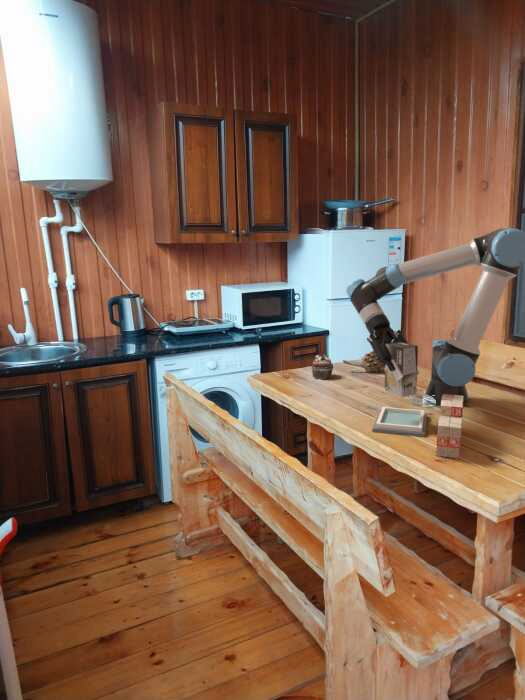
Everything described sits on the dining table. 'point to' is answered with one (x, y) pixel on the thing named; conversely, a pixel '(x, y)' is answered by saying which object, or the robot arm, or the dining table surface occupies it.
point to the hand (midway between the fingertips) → (408, 376)
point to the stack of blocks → (450, 426)
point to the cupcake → (322, 367)
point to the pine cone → (368, 363)
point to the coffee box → (402, 369)
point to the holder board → (401, 421)
